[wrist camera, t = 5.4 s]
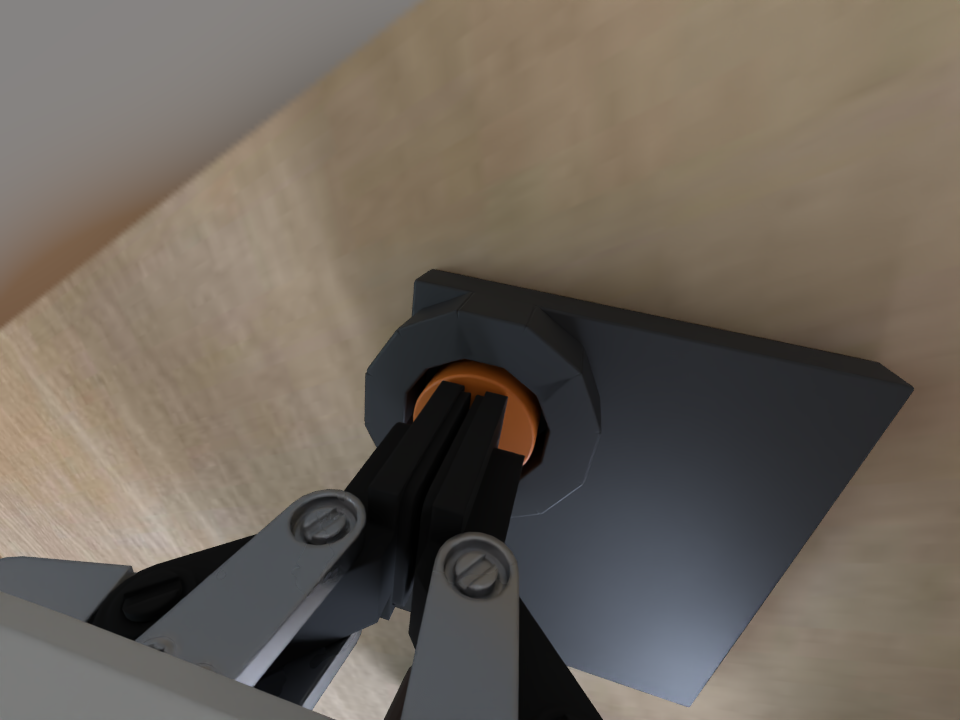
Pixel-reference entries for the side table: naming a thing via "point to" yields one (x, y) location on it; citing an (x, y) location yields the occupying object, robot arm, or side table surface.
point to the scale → (647, 465)
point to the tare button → (485, 377)
